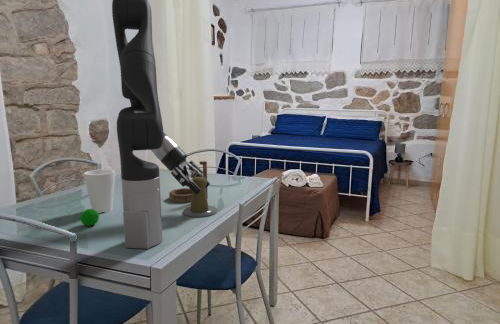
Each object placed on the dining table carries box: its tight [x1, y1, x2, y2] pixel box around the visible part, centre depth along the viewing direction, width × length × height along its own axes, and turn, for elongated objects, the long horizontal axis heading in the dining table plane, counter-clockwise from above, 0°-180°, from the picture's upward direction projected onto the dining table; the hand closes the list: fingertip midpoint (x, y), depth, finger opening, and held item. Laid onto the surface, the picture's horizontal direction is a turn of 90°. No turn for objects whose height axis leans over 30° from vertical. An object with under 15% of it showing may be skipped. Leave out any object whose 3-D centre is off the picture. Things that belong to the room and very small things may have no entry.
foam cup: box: [83, 168, 116, 214], centre depth 120 cm, size 10×9×13 cm
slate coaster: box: [183, 204, 218, 218], centre depth 118 cm, size 11×11×1 cm
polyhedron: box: [79, 208, 100, 227], centre depth 106 cm, size 5×5×5 cm
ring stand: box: [168, 160, 209, 203], centre depth 133 cm, size 10×14×14 cm
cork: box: [190, 177, 209, 213], centre depth 117 cm, size 6×6×11 cm
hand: (203, 189), depth 117 cm, fingers open, 8 cm apart
